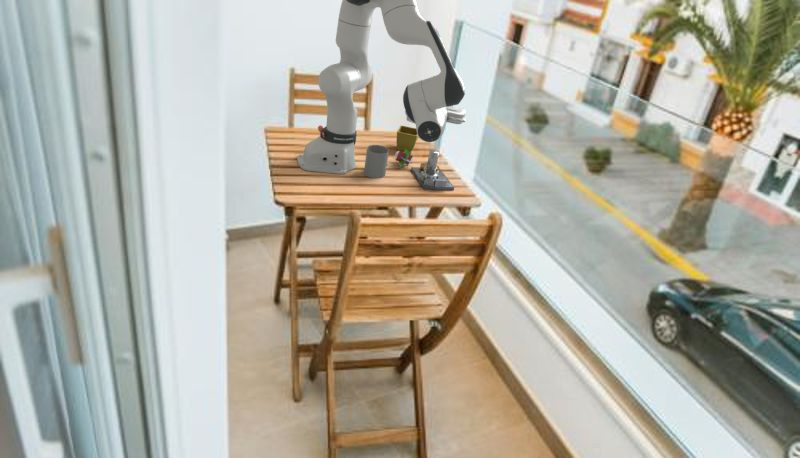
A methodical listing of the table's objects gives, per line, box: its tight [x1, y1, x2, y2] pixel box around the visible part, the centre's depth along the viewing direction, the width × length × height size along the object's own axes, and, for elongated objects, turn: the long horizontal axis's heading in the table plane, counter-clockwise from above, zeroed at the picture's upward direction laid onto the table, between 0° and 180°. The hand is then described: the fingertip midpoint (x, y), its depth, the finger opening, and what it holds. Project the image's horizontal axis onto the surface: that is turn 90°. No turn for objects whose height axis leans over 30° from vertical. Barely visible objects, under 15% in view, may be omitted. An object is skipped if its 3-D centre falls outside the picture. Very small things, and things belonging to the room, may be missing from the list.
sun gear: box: [419, 161, 440, 173], centre depth 206 cm, size 8×8×4 cm
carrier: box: [410, 166, 455, 191], centre depth 202 cm, size 12×17×4 cm
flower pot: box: [396, 125, 419, 153], centre depth 223 cm, size 9×9×9 cm
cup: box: [363, 144, 390, 179], centre depth 197 cm, size 8×8×10 cm
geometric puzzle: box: [394, 149, 414, 168], centre depth 209 cm, size 7×7×8 cm
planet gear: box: [420, 149, 440, 180], centre depth 197 cm, size 7×7×11 cm
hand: (437, 104), depth 179 cm, fingers open, 8 cm apart
